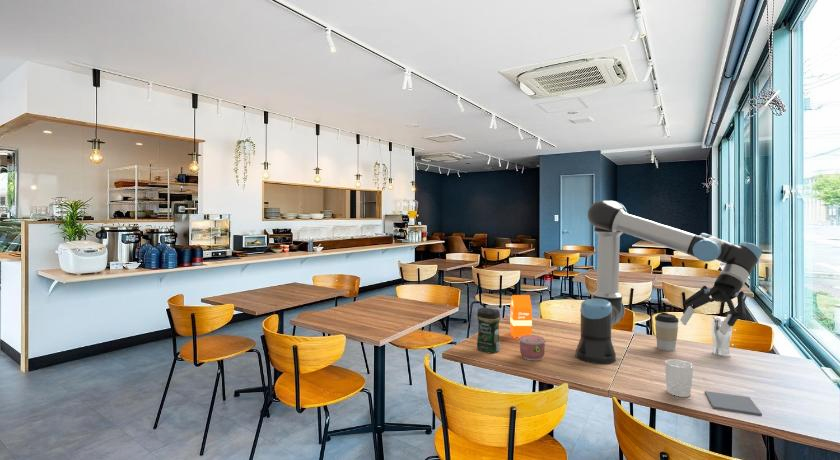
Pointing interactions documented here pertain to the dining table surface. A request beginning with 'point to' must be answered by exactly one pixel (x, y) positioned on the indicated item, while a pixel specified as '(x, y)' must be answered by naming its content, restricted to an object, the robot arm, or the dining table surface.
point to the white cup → (678, 377)
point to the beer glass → (720, 338)
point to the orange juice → (520, 316)
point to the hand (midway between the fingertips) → (701, 327)
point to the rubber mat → (732, 403)
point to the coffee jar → (488, 330)
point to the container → (532, 347)
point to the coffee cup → (666, 331)
